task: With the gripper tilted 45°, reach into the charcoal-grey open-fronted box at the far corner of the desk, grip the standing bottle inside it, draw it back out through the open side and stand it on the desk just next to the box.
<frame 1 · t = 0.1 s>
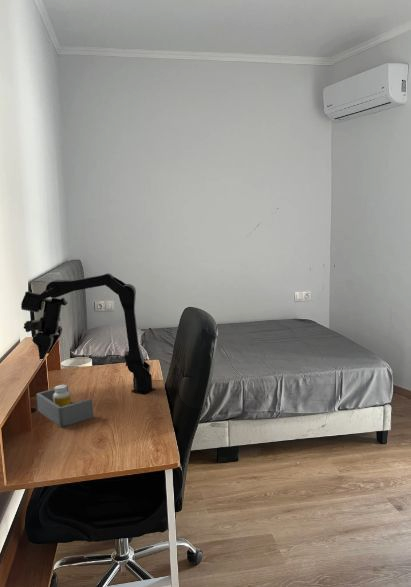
hand: (44, 356, 176), 15 cm above the table, tool pointing down, fingers open, 9 cm apart
supplement bottle: (63, 414, 161), resting in open side box
open side box: (66, 413, 162), on the table
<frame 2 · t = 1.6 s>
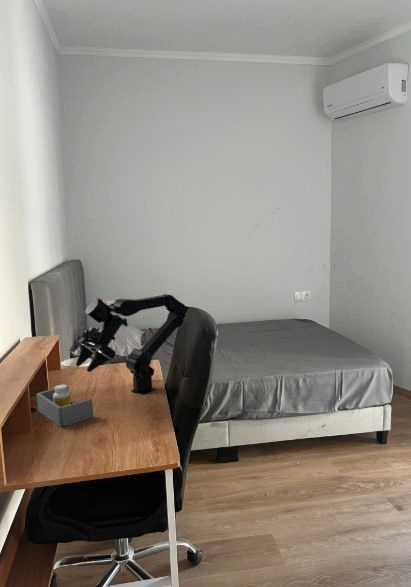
hand: (82, 368, 165), 14 cm above the table, tool tilted 45°, fingers open, 9 cm apart
nothing on the table moved.
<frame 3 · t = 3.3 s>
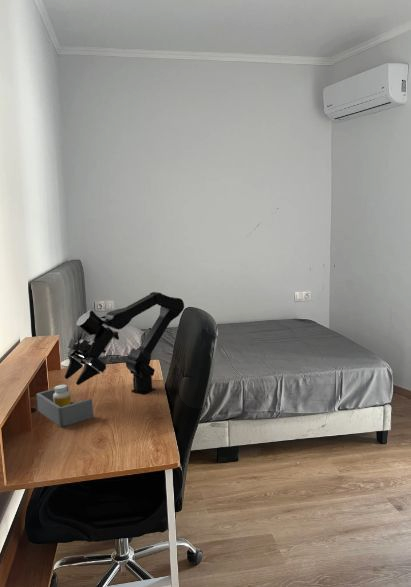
hand: (71, 381, 162), 10 cm above the table, tool tilted 45°, fingers open, 9 cm apart
nothing on the table moved.
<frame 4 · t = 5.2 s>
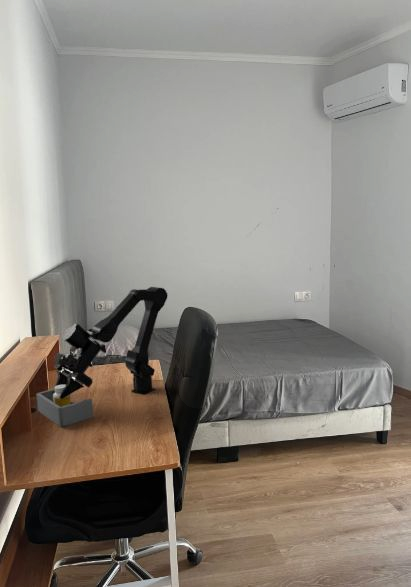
hand: (57, 396, 159), 7 cm above the table, tool tilted 45°, fingers closed on supplement bottle, 5 cm apart
supplement bottle: (63, 414, 161), resting in open side box, touching gripper
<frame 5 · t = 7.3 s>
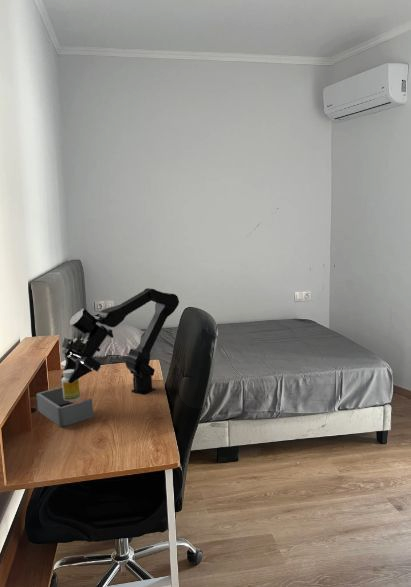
hand: (65, 380, 161), 11 cm above the table, tool tilted 45°, fingers closed on supplement bottle, 5 cm apart
supplement bottle: (72, 399, 163), point 4 cm above the table, touching gripper
when the fingers open (8 cm above the table, at t = 9.7 s): supplement bottle drops 1 cm, on the table.
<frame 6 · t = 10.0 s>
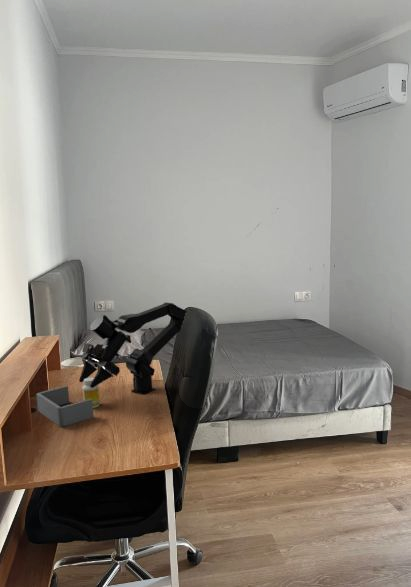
hand: (85, 384, 165), 8 cm above the table, tool tilted 45°, fingers open, 8 cm apart
supplement bottle: (91, 406, 168), on the table
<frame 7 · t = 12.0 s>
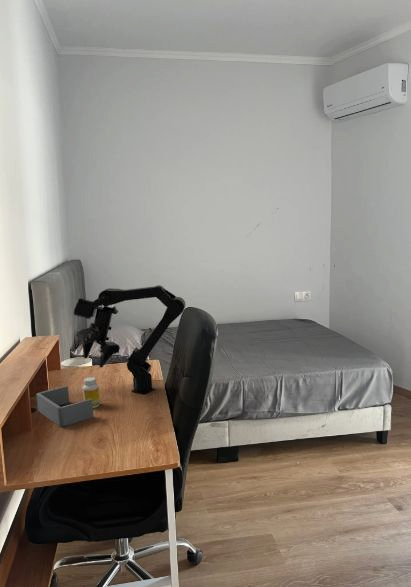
hand: (92, 362, 180), 11 cm above the table, tool tilted 15°, fingers open, 9 cm apart
nothing on the table moved.
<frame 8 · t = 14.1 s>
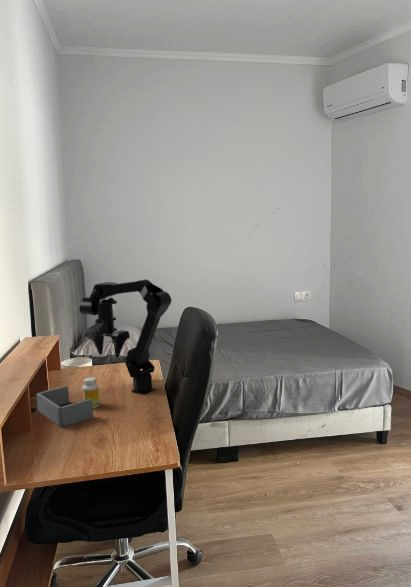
hand: (108, 355, 186), 12 cm above the table, tool pointing down, fingers open, 9 cm apart
nothing on the table moved.
at the end: supplement bottle 0.4 cm from the target spot, on the table; supplement bottle tilted 0°; the gripper is holding nothing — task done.
